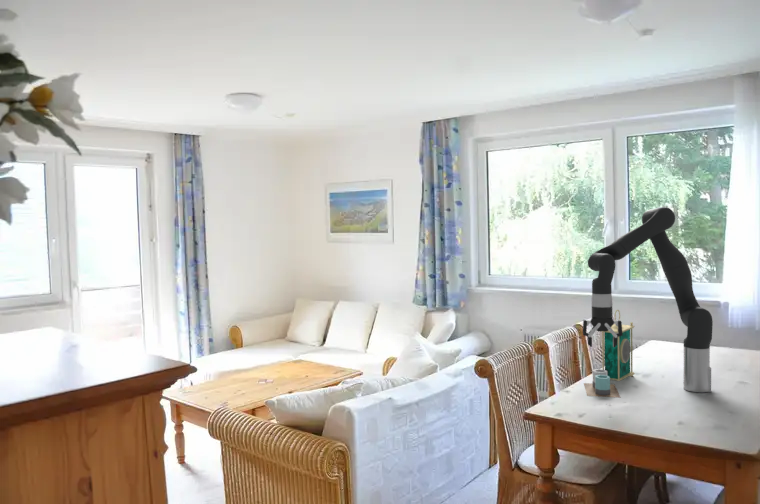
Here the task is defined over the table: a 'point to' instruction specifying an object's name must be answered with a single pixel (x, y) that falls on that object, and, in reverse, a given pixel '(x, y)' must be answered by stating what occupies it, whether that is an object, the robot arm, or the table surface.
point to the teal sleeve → (602, 385)
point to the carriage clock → (618, 352)
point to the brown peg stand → (591, 392)
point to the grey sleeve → (598, 372)
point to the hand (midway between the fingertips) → (602, 346)
